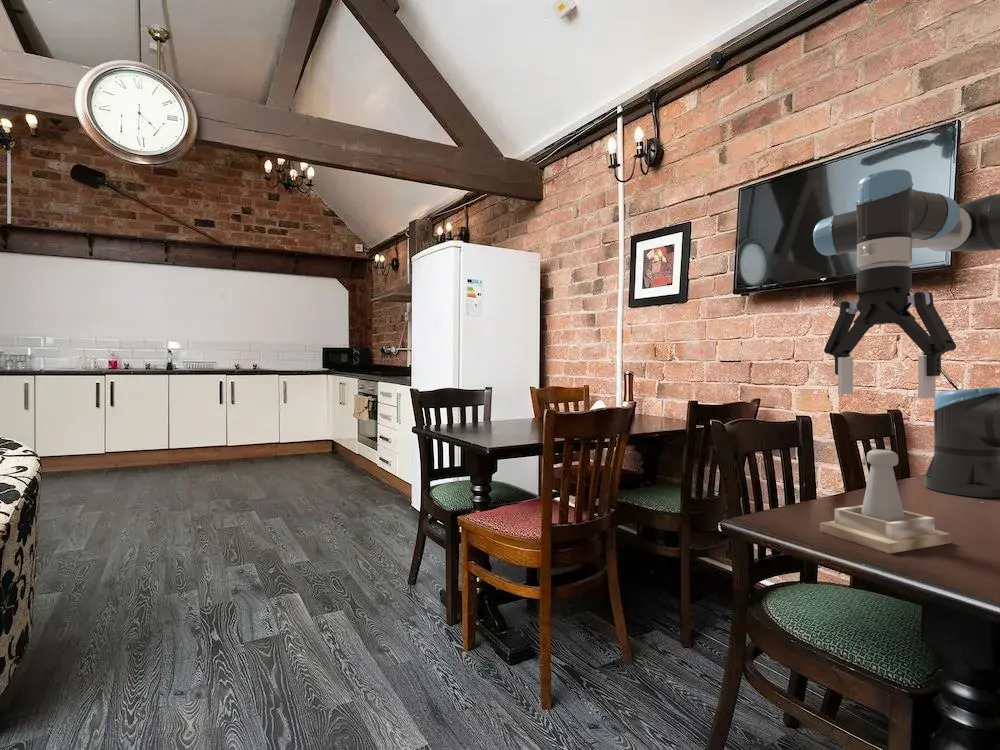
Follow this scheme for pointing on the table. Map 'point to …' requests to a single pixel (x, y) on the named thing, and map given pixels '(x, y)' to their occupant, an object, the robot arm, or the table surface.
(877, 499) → the salt shaker
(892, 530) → the tray
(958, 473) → the robot arm
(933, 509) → the table surface
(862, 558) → the table surface
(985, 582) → the table surface
